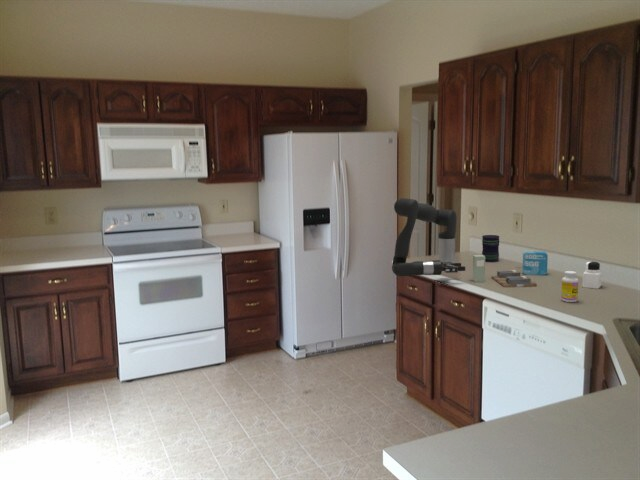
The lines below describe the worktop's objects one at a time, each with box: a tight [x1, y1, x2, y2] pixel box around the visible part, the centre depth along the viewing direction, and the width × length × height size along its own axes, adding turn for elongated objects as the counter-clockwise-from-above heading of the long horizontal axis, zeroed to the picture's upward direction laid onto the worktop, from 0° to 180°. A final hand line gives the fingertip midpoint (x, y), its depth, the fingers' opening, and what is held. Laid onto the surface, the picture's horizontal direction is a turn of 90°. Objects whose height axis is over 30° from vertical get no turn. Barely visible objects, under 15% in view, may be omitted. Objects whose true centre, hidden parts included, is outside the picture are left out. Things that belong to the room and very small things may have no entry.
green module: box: [472, 254, 486, 283], centre depth 289 cm, size 5×5×13 cm
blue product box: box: [522, 250, 548, 276], centre depth 301 cm, size 12×4×12 cm, turn 73°
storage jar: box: [481, 234, 500, 263], centre depth 338 cm, size 10×10×15 cm
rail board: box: [490, 269, 538, 288], centre depth 285 cm, size 20×16×4 cm
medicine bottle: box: [582, 261, 602, 290], centre depth 271 cm, size 7×7×12 cm
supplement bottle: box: [560, 270, 579, 303], centre depth 248 cm, size 7×7×13 cm
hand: (463, 266), depth 289 cm, fingers open, 8 cm apart
